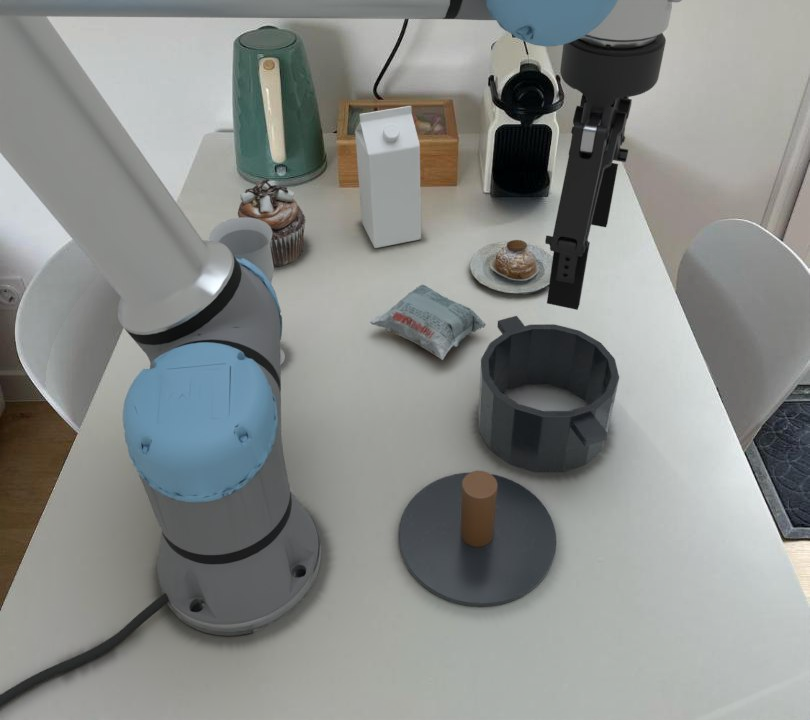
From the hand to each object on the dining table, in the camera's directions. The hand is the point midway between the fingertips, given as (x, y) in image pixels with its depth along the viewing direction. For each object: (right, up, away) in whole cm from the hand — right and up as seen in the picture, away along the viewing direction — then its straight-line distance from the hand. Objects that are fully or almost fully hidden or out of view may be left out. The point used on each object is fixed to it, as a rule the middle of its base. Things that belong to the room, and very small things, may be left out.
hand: (578, 261), depth 75 cm
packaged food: (-13, -6, +27) cm, 31 cm away
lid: (-9, -26, +4) cm, 28 cm away
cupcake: (-35, +6, +42) cm, 55 cm away
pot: (-1, -17, +15) cm, 22 cm away
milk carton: (-18, +10, +44) cm, 49 cm away
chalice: (-33, -9, +25) cm, 43 cm away
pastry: (-1, +3, +36) cm, 36 cm away
